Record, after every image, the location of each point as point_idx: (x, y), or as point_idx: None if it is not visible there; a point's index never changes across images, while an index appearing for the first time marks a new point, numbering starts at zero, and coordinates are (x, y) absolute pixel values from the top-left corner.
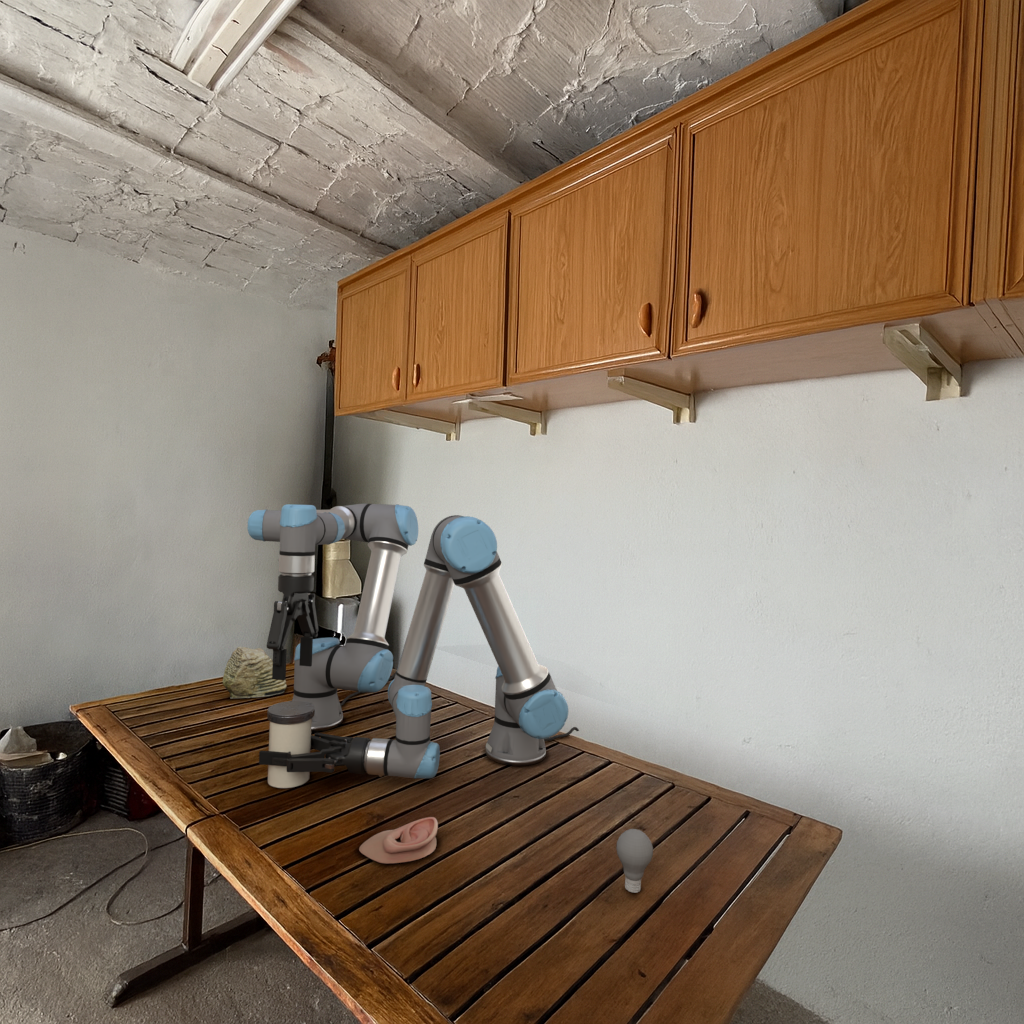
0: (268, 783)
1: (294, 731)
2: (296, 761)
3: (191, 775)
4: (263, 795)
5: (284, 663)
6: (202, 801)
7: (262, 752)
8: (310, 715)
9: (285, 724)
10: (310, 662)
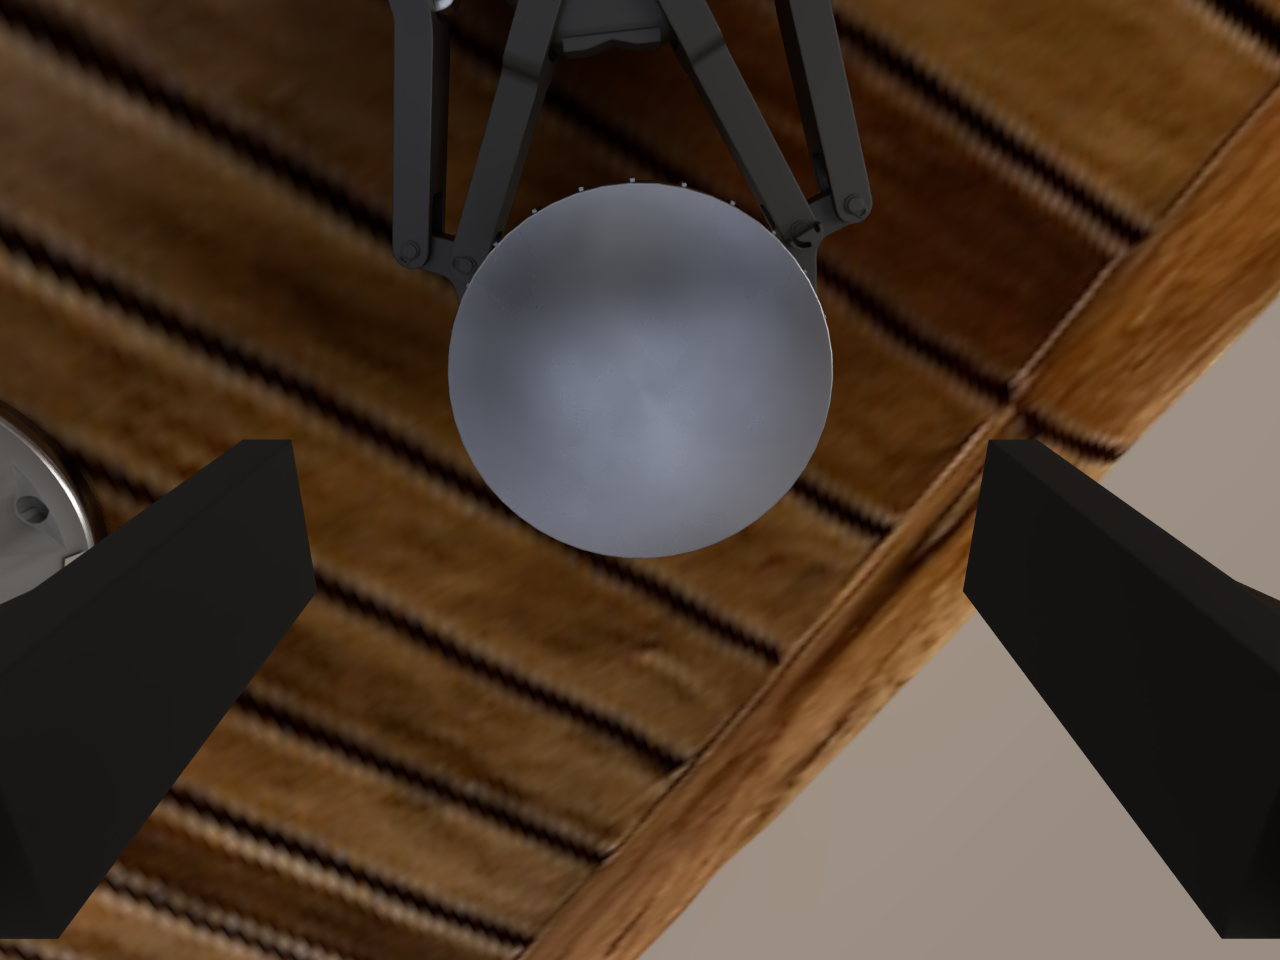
0: None
1: None
2: (861, 155)
3: (711, 691)
4: None
5: (1176, 541)
6: (918, 525)
7: None
8: (660, 182)
9: None
10: (263, 460)
